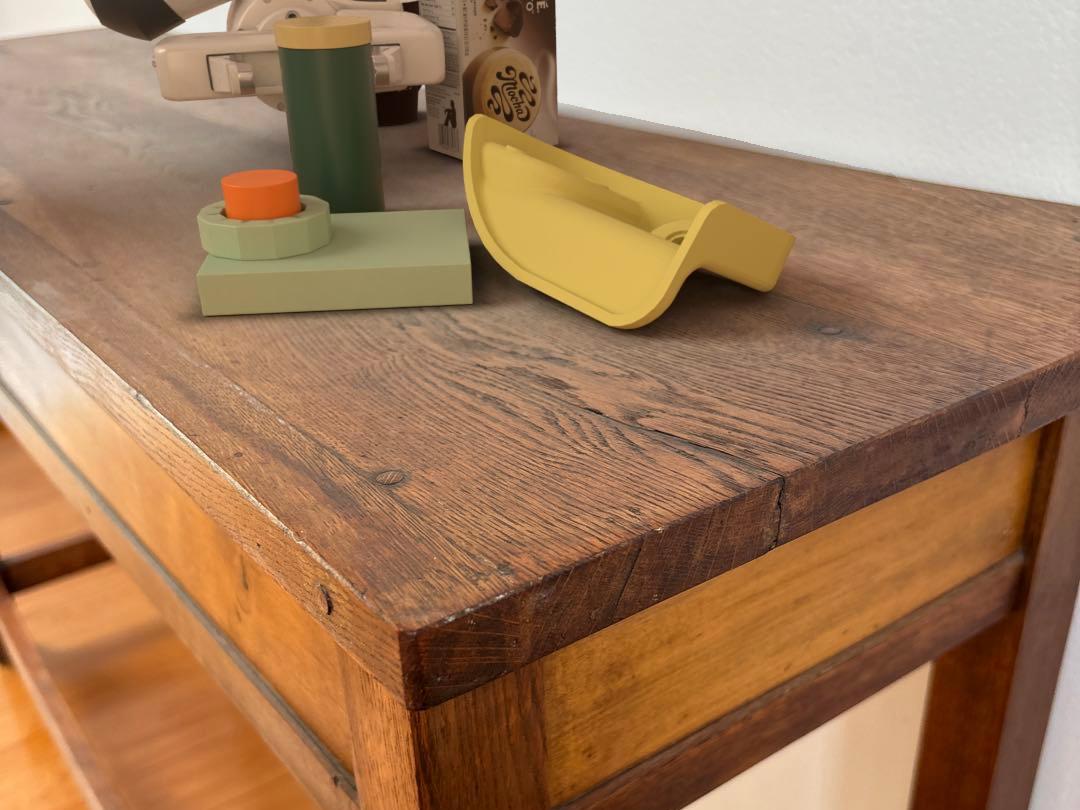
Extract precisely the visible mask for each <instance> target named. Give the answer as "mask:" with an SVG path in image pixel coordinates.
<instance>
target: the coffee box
mask: <svg viewBox="0 0 1080 810" xmlns="http://www.w3.org/2000/svg"><path fill="white" fill-rule="evenodd" d="M556 6H557V5H556V0H419V14H420V16H421V17H423V18H425V19H427V20H428V21H430V22H432V23H433V24H435V25H436V26H437V27H438V28H439V29H440V30H441V32H442V35H443V41H444V51H445V79H444V81H443V82H442V83H439V84H435V85H424V94H425V111H426V122H427V136H428V137H427V138H428V139H427V140H428V148H429V149H430V150H433V151H434V152H437V153H441V154H444V155H447V156H450V157H452V158H455V159H458V160H460V161H463V148H464V137H465V130H466V125H467V122H468V120H469V118H471V117H472V116H474V115H475V114H483V115H485V116H488V117H490V118H493V119H495V120H497V121H499V122H501V123H503V124H505V125H508V126H510V127H512V128H514V129H516V130H518V131H520V132H523V133H525V134H527V135H529V136H531V137H534V138H536V139H538V140H540V141H543V142H545V143H547V144H549V145H552V146H554V147H555V146H558V145H559V112H558V111H559V110H558V109H559V108H558V107H559V105H558V104H559V103H558V102H559V101H558V57H557V54H558V53H557V9H556V8H557V7H556Z"/></svg>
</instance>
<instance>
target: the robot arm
mask: <svg viewBox="0 0 1080 810" xmlns="http://www.w3.org/2000/svg"><path fill="white" fill-rule="evenodd" d="M83 1H84V3H85V4H86V6H87V7H88V9H89V10H90V12H91V13H92V14H93V15H94V17H96V19H97V20H98V21H99V23H100V24H101V26H102V27H105V28H107V29H109V30H111V31H113V32H116V33H118V34H121V35H124V36H126V37H130V38H133V39H138V40H142V41H145V42H146V41H147V42H152V41H154V40H156V39H157V38H160V37H161V36H163V35H165V34H167V33H168V32H170V31H172V30H174V29H176V28H178V27H180V26H181V25H184V24H185V23H187V21H186V20H188V19H191V18H193V17H196V16H199V15H200V14H204V13H206V12H208V11H210V10H212V9H215V8H217V7H220V6H222V5H224V4H227V3H229V2H230V5H229V8H228V11H227V16H226V25H225V26H226V27H225V29H226V31H213V32H209V31H208V32H194V33H193V32H192V33H182V34H176V35H170V36H166V37H163V38H162V39H160V40H158V42H157V43H156V44H155V45H154V47H153V55H152V58H151V66H152V67H153V69H154V70H155V71H156V74H157V80H158V85H159V89H160V94H161V97H162V98H163V99H164V100H166V101H172V102H194V101H206V100H207V101H208V100H209V101H210V100H223V99H237V98H251V97H256V98H257V99H258V100H260V101H261V102H262V103H264V104H265V105H267V106H268V107H270V108H272V109H274V110H276V111H279V112H282V113H286V110H285V102H284V94H283V86H282V78H281V70H280V62H279V54H278V46H276V44H275V36H274V28H273V23H274V22H276V21H279V20H284V19H290V18H299V17H312V16H358V17H365V18H369V19H370V20H371V31H372V42H371V50H372V61H373V73H374V84H375V94H378V93H386V92H392V91H396V90H403V89H405V88H407V86H414V85H422V86H425V85H435V84H439V83H442V82H443V81H444V79H445V51H444V41H443V35H442V32H441V30H440V29H439V28H438V27H437V26H436V25H435V24H433V23H432V22H430V21H428V20H427V19H425V18H423V17H421V16H419V15H416V14H413V13H409V12H404V11H403V6H402V3H401V2H400V1H398V0H83Z"/></svg>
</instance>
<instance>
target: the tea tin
mask: <svg viewBox="0 0 1080 810" xmlns="http://www.w3.org/2000/svg"><path fill="white" fill-rule="evenodd" d="M273 28H274V36H275V44H276V46H278V54H279V62H280V70H281V78H282V86H283V94H284V102H285V110H286V112H285V117H286V125H287V133H288V140H289V147H290V155H291V156H290V157H291V164H292V172H293V173H295V174H296V175H297V178H298V186H299V194H300V195H309V196H315V197H317V198H319V199H321V200H324V201H326V202H328V203H329V209H330V214H343V213H368V212H387V211H386V201H385V200H386V199H385V190H384V178H383V166H382V154H381V144H380V133H379V126H378V119H377V107H376V96H375V84H374V73H373V61H372V50H371V42H372V31H371V20H370V19H369V18H365V17H358V16H312V17H299V18H290V19H284V20H279V21H276V22H274V23H273Z"/></svg>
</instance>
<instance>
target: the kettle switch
mask: <svg viewBox="0 0 1080 810" xmlns="http://www.w3.org/2000/svg"><path fill="white" fill-rule="evenodd" d="M220 182H221V183H220V184H221V190H222V195H223V200H224V202H225V208H226V215H227V218H228V219H235V220H244V221H251V220H272V219H278V218H283V217H289V216H293V215H295V214H298V213H300V212H302V210H301V202H300V194H299V186H298V178H297V175H296V174H295V173H293V171H290V170H284V169H275V168H273V169H272V168H271V169H265V168H263V169H252V170H245V171H239V172H234V173H231V174H228V175H226V176H224V177H222V179H221V181H220Z"/></svg>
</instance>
